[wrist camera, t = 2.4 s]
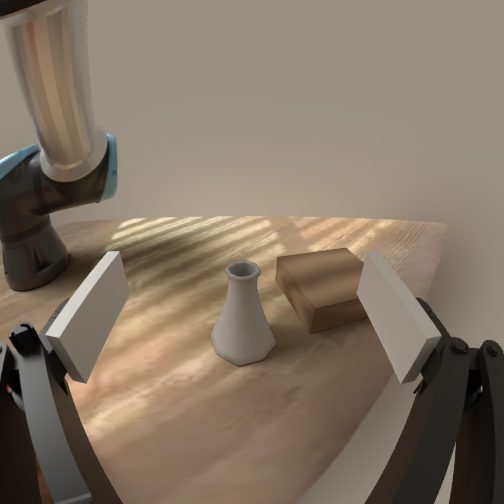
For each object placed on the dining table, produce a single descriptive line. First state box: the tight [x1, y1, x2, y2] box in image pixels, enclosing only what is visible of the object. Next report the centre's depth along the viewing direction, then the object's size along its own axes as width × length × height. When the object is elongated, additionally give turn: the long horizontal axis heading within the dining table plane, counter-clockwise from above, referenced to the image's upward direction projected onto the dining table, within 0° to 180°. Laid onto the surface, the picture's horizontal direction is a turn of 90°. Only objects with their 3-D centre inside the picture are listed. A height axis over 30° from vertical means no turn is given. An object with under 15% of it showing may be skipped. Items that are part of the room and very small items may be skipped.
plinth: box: [276, 248, 368, 333], centre depth 37 cm, size 12×12×4 cm
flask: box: [210, 260, 276, 366], centre depth 28 cm, size 7×7×10 cm
